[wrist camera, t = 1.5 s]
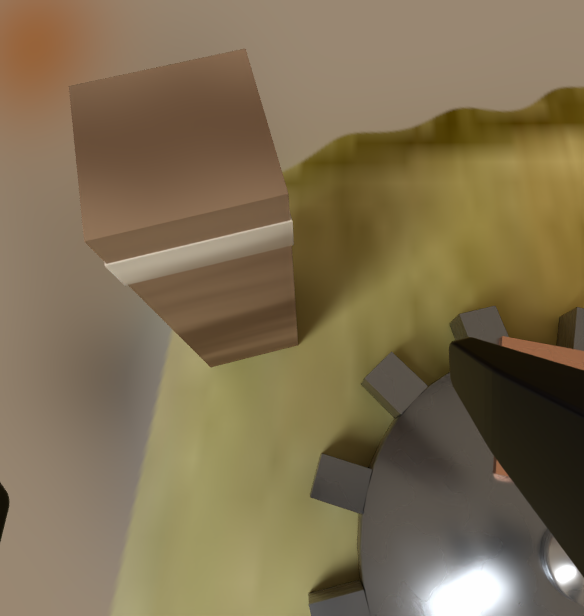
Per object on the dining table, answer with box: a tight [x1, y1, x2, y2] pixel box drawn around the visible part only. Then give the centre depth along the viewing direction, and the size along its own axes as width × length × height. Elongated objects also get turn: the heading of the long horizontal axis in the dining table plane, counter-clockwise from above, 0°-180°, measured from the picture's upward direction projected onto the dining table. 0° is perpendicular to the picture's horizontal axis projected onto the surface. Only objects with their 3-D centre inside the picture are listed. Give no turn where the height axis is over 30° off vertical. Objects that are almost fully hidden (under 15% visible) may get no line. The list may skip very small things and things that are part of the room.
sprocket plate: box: [309, 306, 584, 616], centre depth 17 cm, size 21×21×2 cm
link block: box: [69, 49, 298, 367], centre depth 16 cm, size 5×5×13 cm
